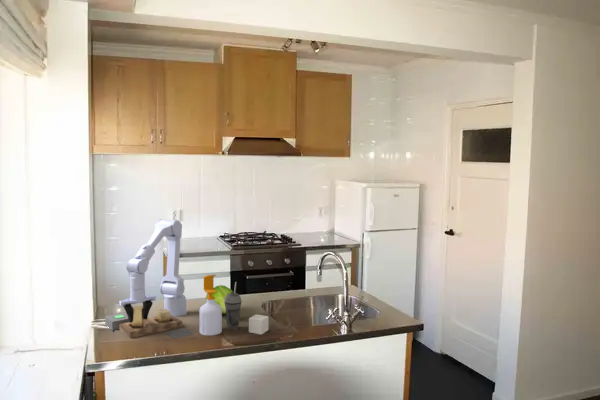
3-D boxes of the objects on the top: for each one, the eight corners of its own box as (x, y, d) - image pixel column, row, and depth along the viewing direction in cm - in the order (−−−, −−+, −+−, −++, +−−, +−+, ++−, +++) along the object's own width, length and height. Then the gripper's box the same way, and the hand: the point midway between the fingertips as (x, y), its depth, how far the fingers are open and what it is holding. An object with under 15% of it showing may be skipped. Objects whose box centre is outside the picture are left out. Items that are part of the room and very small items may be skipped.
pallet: (170, 320, 225) (169, 313, 225) (182, 328, 216) (182, 321, 215) (119, 331, 211) (119, 324, 211) (130, 339, 202) (130, 332, 202)
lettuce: (211, 322, 223) (211, 296, 222) (203, 309, 242) (203, 284, 241) (242, 319, 227) (242, 293, 226) (232, 306, 246) (232, 282, 245)
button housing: (126, 321, 223) (126, 312, 223) (133, 326, 216) (133, 317, 216) (105, 325, 218) (105, 316, 217) (112, 331, 211) (112, 321, 210)
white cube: (255, 328, 217) (256, 314, 217) (268, 330, 215) (268, 316, 214) (248, 332, 212) (248, 318, 211) (261, 334, 209) (261, 320, 209)
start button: (122, 321, 219) (122, 314, 219) (125, 323, 217) (125, 316, 216) (113, 323, 217) (113, 316, 217) (116, 325, 214) (116, 318, 214)
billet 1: (144, 322, 211) (144, 306, 211) (141, 326, 207) (141, 309, 207) (134, 322, 211) (134, 306, 211) (131, 325, 207) (131, 309, 207)
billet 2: (166, 324, 220) (165, 308, 219) (170, 327, 216) (169, 311, 216) (157, 326, 217) (157, 310, 216) (161, 329, 214) (160, 313, 213)
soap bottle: (203, 338, 204) (203, 277, 202) (196, 330, 213) (196, 272, 210) (224, 334, 209) (224, 275, 206) (217, 327, 217) (217, 270, 214)
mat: (184, 328, 215) (184, 327, 215) (194, 335, 208) (194, 333, 208) (164, 333, 209) (164, 332, 209) (173, 339, 202) (173, 338, 202)
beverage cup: (224, 325, 219) (224, 279, 217) (241, 325, 220) (241, 279, 218) (223, 331, 212) (223, 284, 210) (241, 331, 213) (241, 284, 211)
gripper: (150, 283, 216) (151, 314, 217) (116, 288, 207) (116, 321, 208) (157, 286, 210) (158, 318, 212) (122, 292, 201) (123, 325, 203)
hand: (138, 320), depth 209 cm, fingers closed on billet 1, 6 cm apart
